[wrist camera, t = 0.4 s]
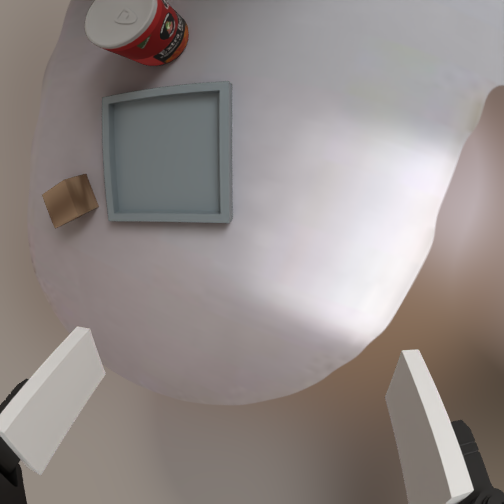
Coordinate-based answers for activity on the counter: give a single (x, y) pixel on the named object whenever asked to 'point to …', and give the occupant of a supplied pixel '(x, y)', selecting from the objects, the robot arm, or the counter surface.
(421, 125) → the counter surface
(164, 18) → the canned food
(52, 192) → the walnut block
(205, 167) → the tray
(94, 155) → the counter surface
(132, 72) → the counter surface
